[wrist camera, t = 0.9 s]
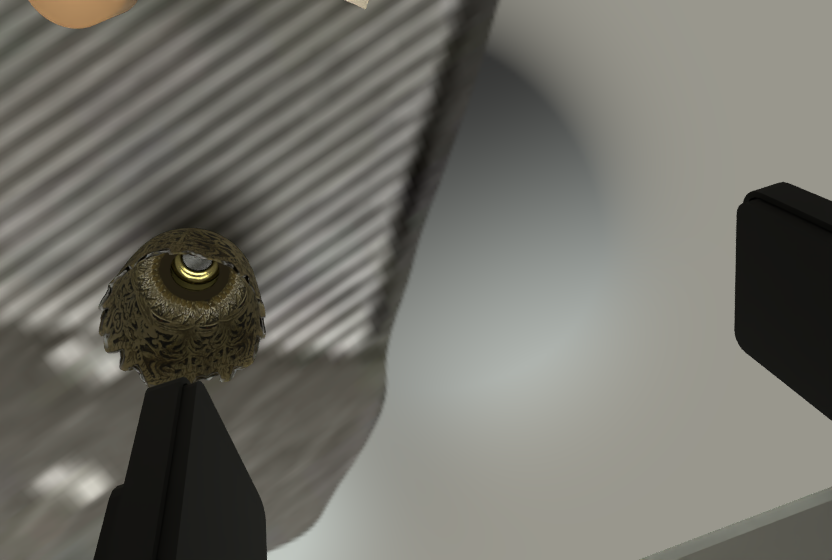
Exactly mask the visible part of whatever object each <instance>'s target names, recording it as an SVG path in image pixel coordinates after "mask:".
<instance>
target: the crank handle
mask: <svg viewBox="0 0 832 560" xmlns="http://www.w3.org/2000/svg"><path fill="white" fill-rule="evenodd" d="M137 1H138V0H29V2H30V3H31V4H32V6H33V7H34V8H35V9H36V10H37V11H38V12H39V13H40V14H41V15H42V16H44V17H45V18H46V19H48V20H50V21H51V22H53V23H55V24H58V25H60V26H63V27H68V28H77V29H78V28H86V27H90V26H92V25H95V24H97V23H100V22H102V21H105V20H107V19H110V18H112V17H115V16H117V15H120V14H122V13H125V12H126V11H128V10H130V9H131V8H132V7H133V6H134V5H135V4H136V2H137Z"/></svg>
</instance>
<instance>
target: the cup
mask: <svg viewBox="0 0 832 560" xmlns="http://www.w3.org/2000/svg"><path fill="white" fill-rule="evenodd" d="M183 254H185V255H187V254H189V255H193V256H197V257H200V258H203V259H207V260H212V263H211V265H210V267H209V268H207V269H206V270H204V271H193V270H190V269H189V268H187V267H186V266H185V264H184V263H183V259H182V257H183ZM99 309H100V310H102V311H103V310H104V311H103V312H102V315H101V322H100V327H99V334H100V335H101V336H103V337H104V336H105V337H104V348H105V351H106V352H107V353H117V352H118V351H120V356H121V359H120V369H121V370H123V371H128V370H133V369H135V370H136V371H137V372H138V373H139V376H140V378H141V380H142V381H143V382H144V383H145V384H146V385H147V386H148V387H149V388H150V387H152V386H156V385H159V384H162V383H165V382H168V381H171V380H174V379H177V378H180V377H183V376H184V377H186V378H187V379H188V380H189V381H190V383H194V382H197V380H198V381H199V380H200V379H206V380H210V379H211V378H212V377H214V376H217V375H219V376H220V379H221V380H220V381H221V382H227V381H230V380H231V379H232V378H233V377H234V375H235V373H236V370H238V369H244V368H246V367H248V366H249V365H251V364H252V363H253V361H254V360H255V357H256V354H257V351H258V348H259V342H260V340H261V339H263V338H264V337H265V334H266V331H265V326H264V319H263V318H265V308H264V304H263V302H262V300H261V296H260V292H259V289H258V285H257V282H256V279H255V276H254V273H253V270H252V268H251V266H250V264H249V262H248V260H247V259H246V257H245V256H244V254H243V253H242V252H241V251H240V250H239V248H238V247H237V246H235V245H234V244H233V243H232V242H231V241H229V240H228V239H226V238H225V237H223V236H221V235H219V234H217V233H214V232H212V231H208V230H204V229H198V228H180V229H174V230H171V231H167V232H165V233H162V234H160V235H158V236H156V237H154V238H153V239H151V240H150V241H148V242H147V243H146V244H144V245H143V246H142V247H141V248H140V249H139V250H138V251H137V252H136V253H135V254H134V255H133V256H132V257H131V258H130V259H129V261H128V262H127V263H126V264H125V266H124V267H123V268H122V270H121V271H120V272H119V274H118V275H117V276H116V277H115V278H114V279H113V280H112V281H111V282H110V284H109V285H108V290H107V292H106V294H105V296H104V297H103V298H102V300H101V302H100V304H99ZM260 338H261V339H260Z"/></svg>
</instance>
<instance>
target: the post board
mask: <svg viewBox="0 0 832 560" xmlns="http://www.w3.org/2000/svg"><path fill="white" fill-rule="evenodd" d="M346 1H348V2H350V3H353V4H355V5H357V6H359V7H362V8H364V9H366V7H367V4H368V1H369V0H346Z"/></svg>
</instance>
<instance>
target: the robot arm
mask: <svg viewBox="0 0 832 560" xmlns="http://www.w3.org/2000/svg"><path fill="white" fill-rule="evenodd" d="M735 277H736V278H735V329H734V331H735V337H736V340H737V341H738V344H739V346H740V347H741V348H742V349H743V350H744V351H745V352H746V353H747V354H748V355H749V356H751V357H752V358H753V359H754V360H756V361H757V362H758V363H760V364H761V365H762V366H763V367H765V368H766V369H767V370H768V371H770V372H771V373H772V374H773V375H775V376H776V377H777V378H779V379H780V380H781V381H782V382H784V383H785V384H786V385H787V386H789V387H790V388H791V389H792V390H794V391H795V392H796V393H798V394H799V395H800V396H801V397H803V398H804V399H805V400H806V401H808V402H809V403H810V404H812V405H813V406H814V407H815V408H816V409H818V410H819V411H820V412H821V413H823V414H824V415H825V416H827V417H828V418H829V419H830V420H832V201H830V200H828V199H825V198H823V197H820V196H818V195H816V194H813V193H811V192H808V191H806V190H804V189H801V188H799V187H796V186H794V185H791V184H789V183H785V182H781V183H777V184H773V185H771V186H768V187H764V188H761V189H758V190H755V191H752V192H750V193H748V194H747V195H746V197H745V198H744V201H743V203H742V204H741V205H740V206H739V207H738V209H737V225H736V276H735ZM94 560H267V546H266V519H265V512H264V507H263V504H262V501H261V498H260V496H259V494H258V492H257V490H256V488H255V486H254V484H253V482H252V480H251V478H250V476H249V474H248V472H247V470H246V468H245V466H244V464H243V462H242V460H241V458H240V456H239V454H238V452H237V450H236V448H235V446H234V444H233V442H232V440H231V438H230V436H229V434H228V432H227V430H226V428H225V426H224V424H223V422H222V420H221V418H220V416H219V414H218V412H217V410H216V408H215V406H214V404H213V402H212V400H211V398H210V396H209V394H208V392H207V390H206V388H205V386H204V384H203V383H202V382H201V381H197V382H194V383H190V381H189V380H188V379H187V378H186V377H184V376H183V377H180V378H177V379H174V380H171V381H168V382H165V383H162V384H159V385H156V386H152V387H150V388H148V389H147V391H146V393H145V397H144V401H143V406H142V410H141V414H140V418H139V423H138V427H137V431H136V435H135V439H134V444H133V448H132V452H131V456H130V461H129V465H128V469H127V473H126V478H125V482H124V484H122V485H119V486H117V487H116V488H115V489H114V490H113V491H112V493H111V496H110V498H109V501H108V505H107V509H106V513H105V517H104V521H103V525H102V529H101V532H100V536H99V540H98V544H97V548H96V552H95V556H94ZM640 560H832V487H830V488H827V489H824V490H822V491H819V492H816V493H814V494H811V495H808V496H806V497H803V498H800V499H798V500H795V501H792V502H790V503H787V504H785V505H782V506H779V507H777V508H774V509H772V510H769V511H766V512H763V513H761V514H758V515H755V516H753V517H750V518H748V519H745V520H742V521H740V522H737V523H735V524H732V525H729V526H726V527H724V528H721V529H718V530H716V531H713V532H710V533H708V534H705V535H703V536H700V537H698V538H695V539H692V540H689V541H687V542H684V543H682V544H679V545H676V546H674V547H671V548H669V549H666V550H664V551H661V552H658V553H655V554H653V555H650V556H647V557H645V558H642V559H640Z"/></svg>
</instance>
